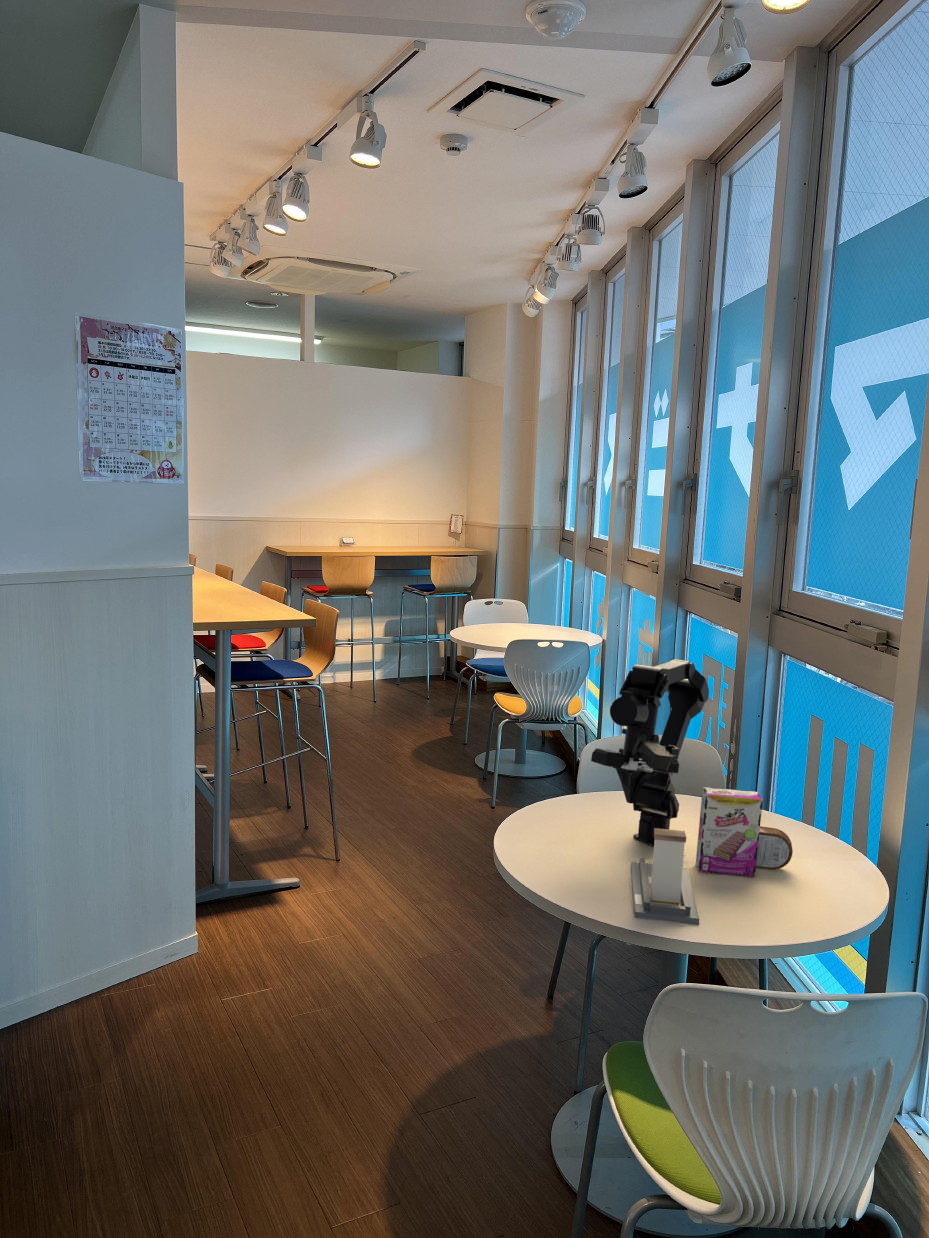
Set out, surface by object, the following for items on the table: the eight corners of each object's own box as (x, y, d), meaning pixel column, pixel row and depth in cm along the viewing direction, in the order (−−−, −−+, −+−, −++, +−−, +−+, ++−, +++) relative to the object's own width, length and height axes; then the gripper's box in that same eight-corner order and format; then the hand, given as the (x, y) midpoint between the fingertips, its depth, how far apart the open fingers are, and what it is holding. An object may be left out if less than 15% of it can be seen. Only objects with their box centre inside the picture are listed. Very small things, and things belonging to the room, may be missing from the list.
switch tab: (649, 893, 157) (654, 828, 155) (679, 896, 156) (684, 830, 154) (650, 900, 154) (655, 834, 152) (681, 903, 153) (686, 837, 151)
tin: (789, 867, 175) (793, 828, 173) (791, 874, 172) (795, 834, 170) (713, 857, 178) (716, 819, 176) (714, 864, 175) (717, 825, 173)
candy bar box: (698, 873, 170) (705, 794, 168) (695, 863, 175) (701, 786, 173) (756, 878, 169) (763, 798, 167) (751, 868, 174) (758, 790, 172)
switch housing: (630, 866, 172) (631, 854, 172) (686, 872, 170) (687, 860, 170) (635, 917, 150) (635, 903, 150) (699, 924, 149) (700, 910, 148)
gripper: (630, 728, 163) (618, 809, 162) (703, 737, 171) (691, 814, 171) (595, 720, 172) (583, 796, 172) (665, 729, 181) (655, 802, 181)
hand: (629, 803), depth 173 cm, fingers closed
